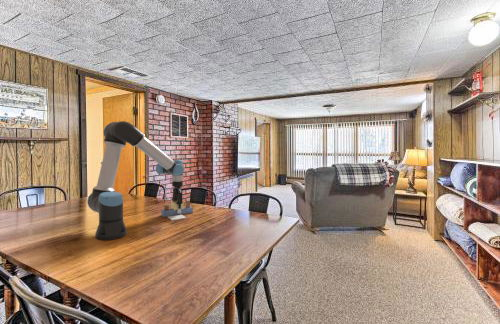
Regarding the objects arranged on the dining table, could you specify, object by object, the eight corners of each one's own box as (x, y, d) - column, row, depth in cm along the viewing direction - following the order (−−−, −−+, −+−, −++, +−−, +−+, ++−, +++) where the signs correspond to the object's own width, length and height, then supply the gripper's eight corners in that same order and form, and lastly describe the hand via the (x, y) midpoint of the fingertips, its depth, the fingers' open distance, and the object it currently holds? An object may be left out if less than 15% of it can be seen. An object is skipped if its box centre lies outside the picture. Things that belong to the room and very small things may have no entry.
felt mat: (186, 218, 176) (186, 217, 176) (171, 220, 170) (171, 219, 170) (181, 215, 183) (181, 214, 183) (167, 217, 177) (167, 216, 177)
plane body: (192, 212, 191) (192, 200, 191) (163, 216, 178) (163, 204, 178) (190, 211, 195) (190, 199, 195) (161, 215, 183) (161, 202, 182)
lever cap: (183, 208, 186) (184, 201, 186) (173, 210, 182) (173, 202, 182) (180, 207, 192) (180, 199, 191) (170, 208, 187) (170, 201, 187)
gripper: (187, 182, 180) (187, 214, 181) (177, 179, 196) (177, 208, 197) (177, 182, 176) (177, 215, 177) (168, 179, 191) (168, 210, 193)
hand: (177, 212), depth 187 cm, fingers closed on lever cap, 6 cm apart
